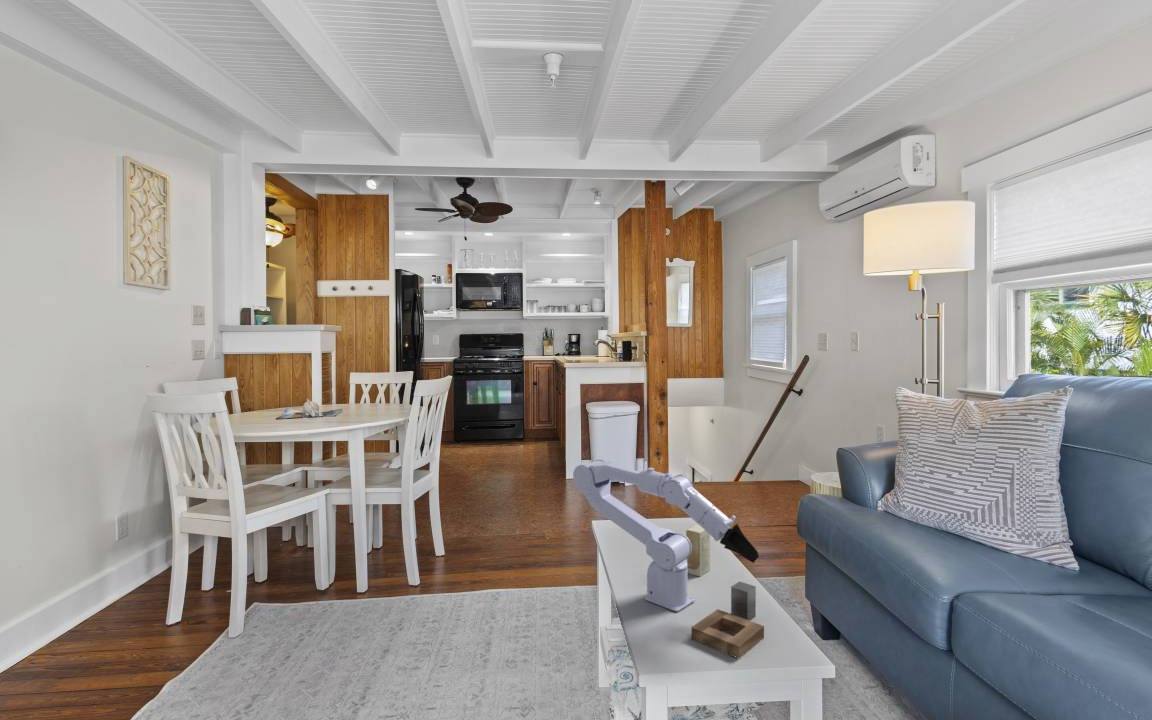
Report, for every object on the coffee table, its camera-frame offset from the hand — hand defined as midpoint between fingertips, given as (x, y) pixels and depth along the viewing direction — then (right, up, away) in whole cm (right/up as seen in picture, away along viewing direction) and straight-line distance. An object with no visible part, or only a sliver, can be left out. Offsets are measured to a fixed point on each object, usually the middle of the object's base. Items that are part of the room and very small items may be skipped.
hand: (755, 558), depth 120 cm
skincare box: (-6, -15, +30) cm, 34 cm away
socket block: (-7, -16, -4) cm, 18 cm away
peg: (-1, -15, +5) cm, 16 cm away
